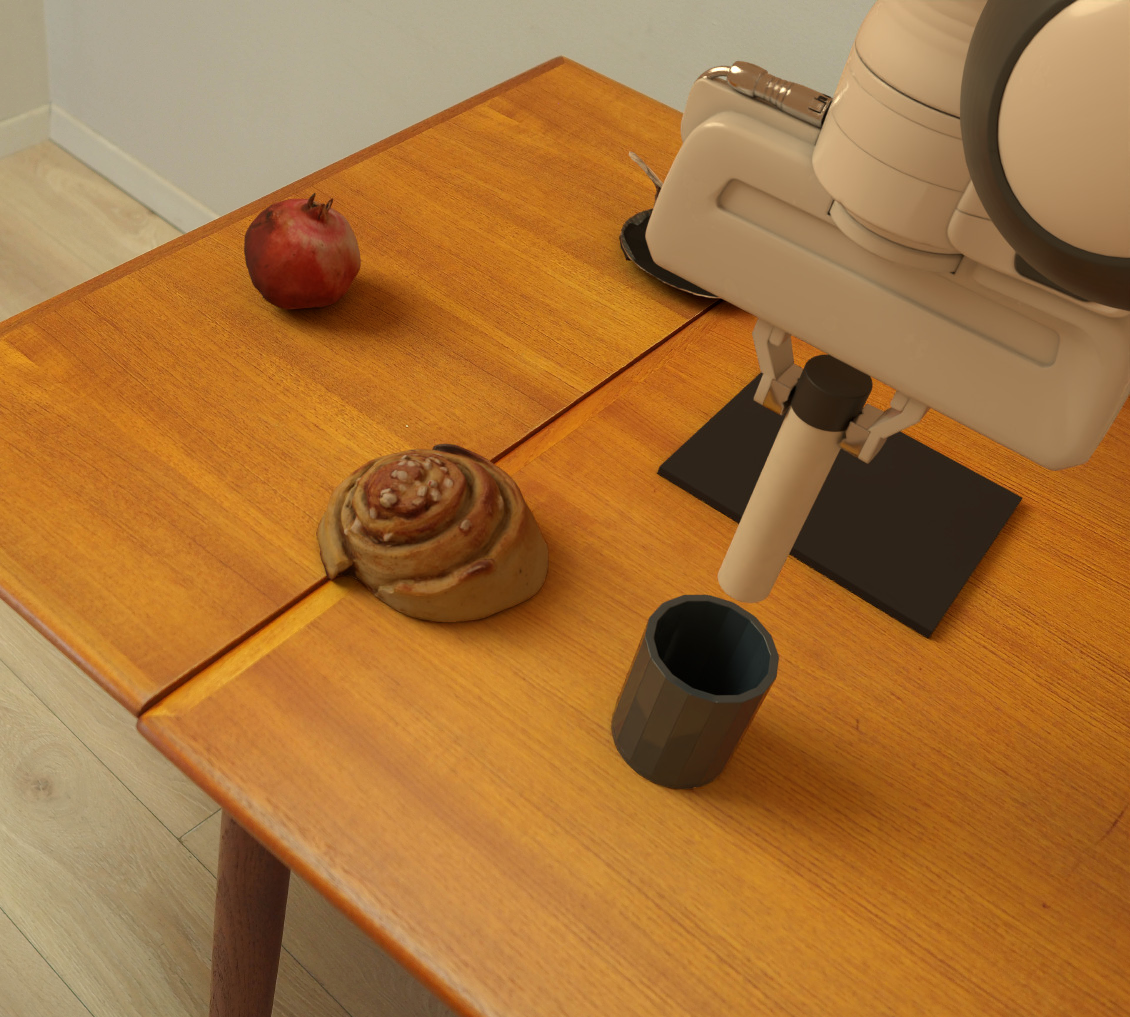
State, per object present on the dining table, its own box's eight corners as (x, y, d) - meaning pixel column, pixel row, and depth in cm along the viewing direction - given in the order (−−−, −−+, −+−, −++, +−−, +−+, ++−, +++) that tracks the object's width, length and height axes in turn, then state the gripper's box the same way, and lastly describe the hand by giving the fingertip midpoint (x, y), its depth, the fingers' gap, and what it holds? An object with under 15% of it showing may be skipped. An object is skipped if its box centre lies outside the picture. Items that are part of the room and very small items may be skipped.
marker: (782, 582, 60) (884, 376, 50) (755, 614, 59) (855, 407, 49) (732, 552, 62) (823, 344, 52) (705, 582, 60) (792, 374, 50)
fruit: (220, 292, 95) (217, 184, 88) (303, 250, 101) (306, 146, 93) (298, 345, 92) (301, 237, 84) (380, 298, 97) (389, 194, 90)
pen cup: (752, 733, 71) (801, 645, 64) (691, 813, 66) (737, 727, 60) (652, 664, 74) (689, 573, 67) (587, 736, 69) (620, 647, 63)
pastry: (293, 507, 79) (295, 421, 74) (488, 462, 85) (504, 378, 79) (363, 655, 71) (372, 572, 66) (573, 594, 77) (598, 512, 71)
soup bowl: (682, 328, 99) (706, 255, 94) (578, 229, 108) (594, 158, 103) (809, 290, 106) (837, 220, 100) (700, 200, 114) (722, 131, 109)
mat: (1018, 504, 88) (1023, 497, 88) (928, 639, 78) (933, 631, 77) (769, 368, 97) (772, 361, 96) (656, 473, 86) (659, 465, 86)
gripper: (662, 66, 44) (590, 349, 54) (1201, 305, 37) (1002, 584, 47) (741, 23, 48) (660, 296, 58) (1245, 232, 40) (1053, 505, 50)
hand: (816, 426), depth 52 cm, fingers closed on marker, 3 cm apart
